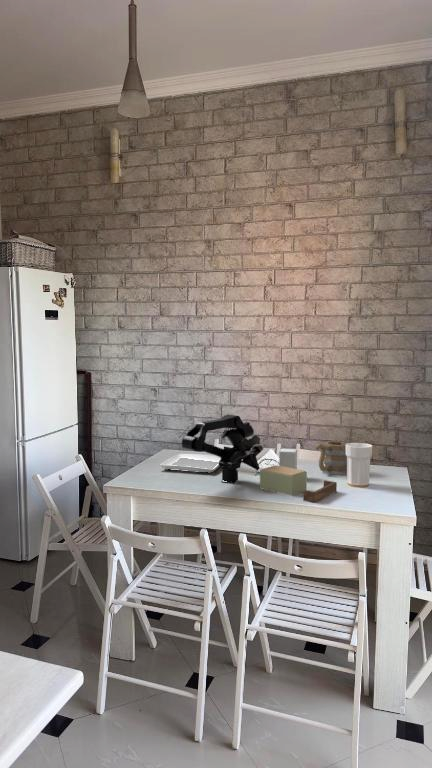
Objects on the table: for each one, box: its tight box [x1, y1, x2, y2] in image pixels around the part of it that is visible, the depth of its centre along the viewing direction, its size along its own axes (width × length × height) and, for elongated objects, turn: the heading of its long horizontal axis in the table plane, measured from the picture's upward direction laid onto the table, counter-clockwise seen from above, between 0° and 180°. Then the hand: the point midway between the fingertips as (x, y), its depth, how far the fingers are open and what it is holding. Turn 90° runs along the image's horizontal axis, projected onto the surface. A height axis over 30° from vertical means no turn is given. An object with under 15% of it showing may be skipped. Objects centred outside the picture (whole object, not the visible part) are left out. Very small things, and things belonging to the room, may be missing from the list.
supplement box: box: [278, 448, 298, 469], centre depth 255 cm, size 7×7×13 cm
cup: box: [346, 442, 373, 488], centre depth 243 cm, size 11×11×17 cm
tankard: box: [314, 440, 348, 477], centre depth 263 cm, size 20×13×15 cm, turn 122°
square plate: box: [159, 453, 221, 474], centre depth 275 cm, size 27×27×4 cm
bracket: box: [302, 479, 338, 504], centre depth 225 cm, size 5×19×4 cm, turn 144°
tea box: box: [259, 464, 308, 497], centre depth 235 cm, size 16×11×8 cm
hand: (258, 469), depth 242 cm, fingers closed
